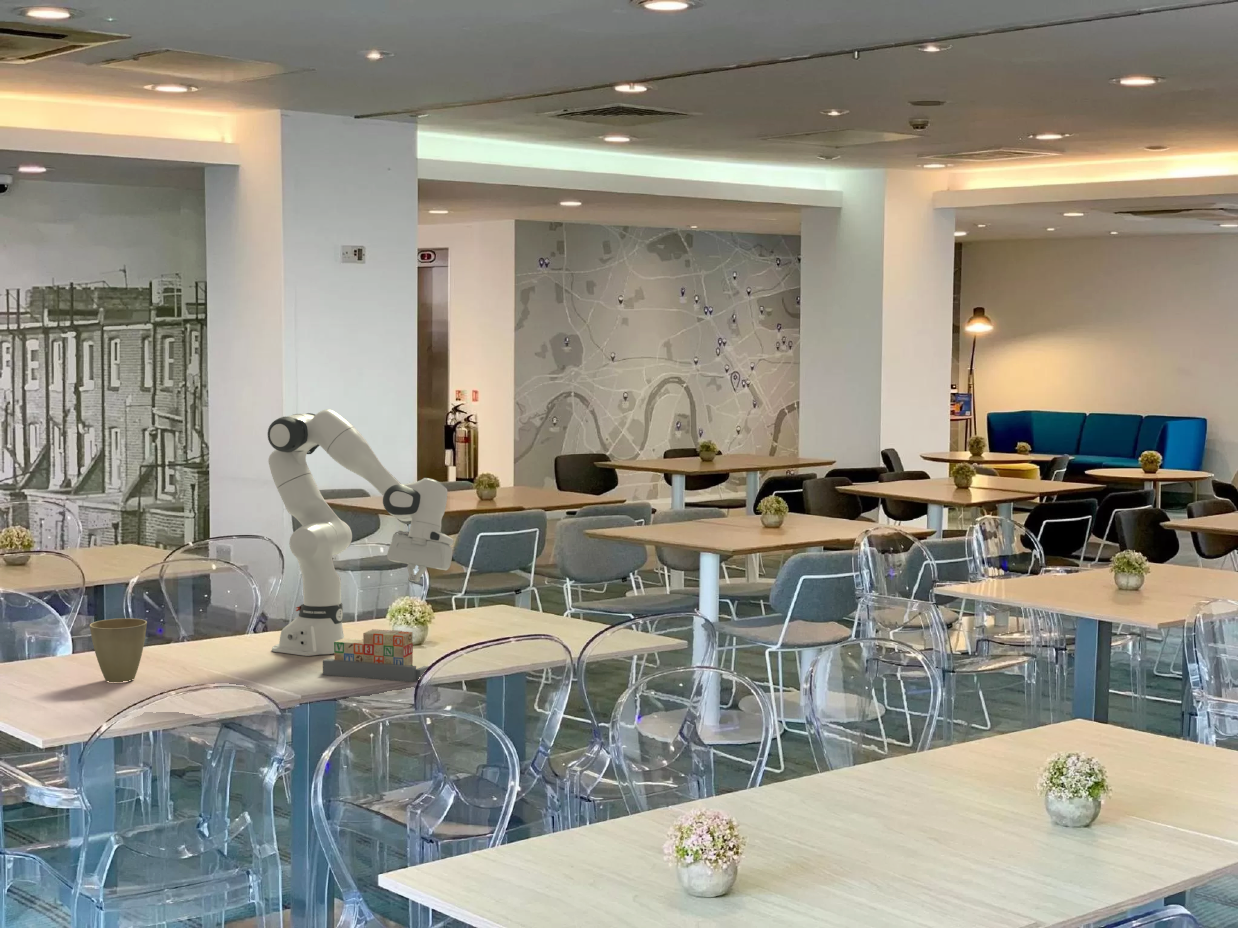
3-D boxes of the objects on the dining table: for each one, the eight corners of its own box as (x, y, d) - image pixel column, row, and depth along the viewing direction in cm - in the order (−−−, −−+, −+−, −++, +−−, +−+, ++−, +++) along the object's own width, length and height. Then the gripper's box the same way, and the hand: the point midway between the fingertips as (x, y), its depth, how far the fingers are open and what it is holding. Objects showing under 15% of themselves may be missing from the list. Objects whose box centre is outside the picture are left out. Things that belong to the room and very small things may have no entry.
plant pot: (83, 679, 423) (81, 622, 422) (136, 672, 432) (135, 616, 431) (102, 689, 412) (100, 629, 410) (156, 681, 421) (155, 623, 419)
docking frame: (319, 674, 430) (318, 659, 430) (332, 669, 437) (331, 655, 436) (416, 682, 420) (416, 667, 419) (428, 677, 426) (428, 662, 426)
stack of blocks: (333, 674, 431) (333, 630, 430) (344, 670, 437) (343, 626, 436) (403, 679, 424) (403, 634, 423) (413, 674, 430) (413, 631, 429)
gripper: (388, 527, 450) (378, 573, 448) (447, 536, 441) (437, 584, 439) (400, 531, 456) (390, 577, 454) (458, 540, 447) (448, 587, 445)
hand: (413, 580), depth 446 cm, fingers closed
